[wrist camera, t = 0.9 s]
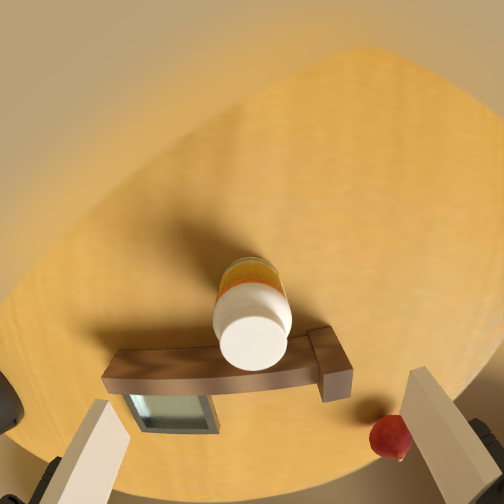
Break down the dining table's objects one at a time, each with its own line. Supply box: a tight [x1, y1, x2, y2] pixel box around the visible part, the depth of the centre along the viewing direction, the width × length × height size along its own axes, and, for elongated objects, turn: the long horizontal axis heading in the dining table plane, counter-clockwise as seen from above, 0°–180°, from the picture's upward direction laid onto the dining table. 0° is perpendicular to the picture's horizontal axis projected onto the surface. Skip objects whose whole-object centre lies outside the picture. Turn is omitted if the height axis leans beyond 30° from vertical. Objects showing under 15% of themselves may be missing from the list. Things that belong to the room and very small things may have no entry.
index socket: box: [122, 394, 220, 434], centre depth 28 cm, size 10×10×2 cm
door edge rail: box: [101, 327, 353, 403], centre depth 24 cm, size 22×3×7 cm, turn 97°
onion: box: [369, 415, 413, 461], centre depth 27 cm, size 6×6×8 cm
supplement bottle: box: [213, 257, 292, 371], centre depth 21 cm, size 5×5×10 cm
